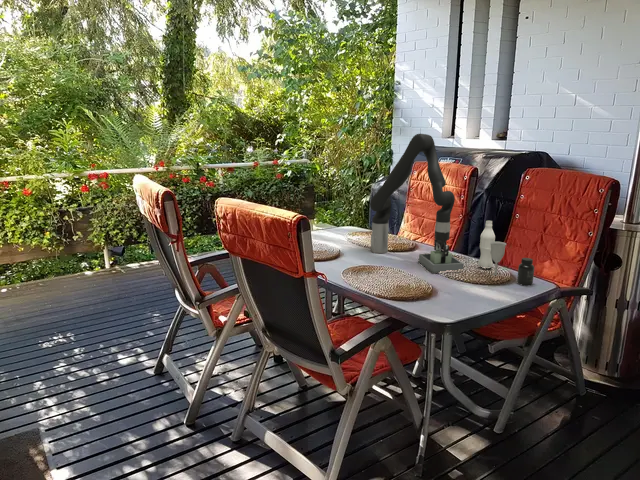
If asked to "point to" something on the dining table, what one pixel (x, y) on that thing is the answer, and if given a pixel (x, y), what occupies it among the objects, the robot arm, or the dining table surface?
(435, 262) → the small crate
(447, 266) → the grey tray
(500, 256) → the chalice
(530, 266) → the supplement bottle
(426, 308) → the dining table surface
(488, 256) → the water bottle
